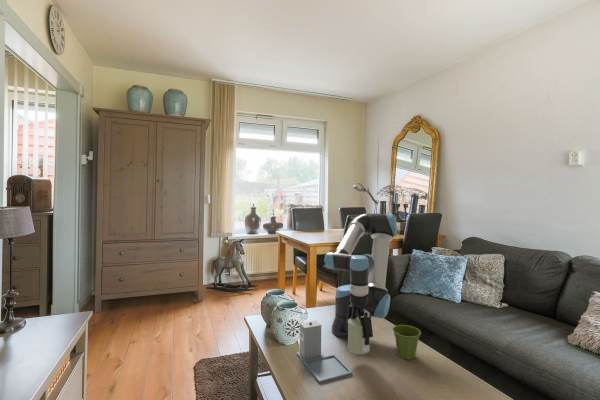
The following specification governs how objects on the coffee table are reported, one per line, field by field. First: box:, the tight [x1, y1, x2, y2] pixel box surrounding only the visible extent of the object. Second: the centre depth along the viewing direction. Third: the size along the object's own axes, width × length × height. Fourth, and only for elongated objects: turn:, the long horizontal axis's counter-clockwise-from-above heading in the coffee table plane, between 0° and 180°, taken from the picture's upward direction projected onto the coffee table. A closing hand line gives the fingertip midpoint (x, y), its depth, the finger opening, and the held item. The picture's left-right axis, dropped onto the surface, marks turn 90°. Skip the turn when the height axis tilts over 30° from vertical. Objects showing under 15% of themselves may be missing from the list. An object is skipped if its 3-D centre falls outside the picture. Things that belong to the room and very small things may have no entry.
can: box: [347, 317, 371, 355], centre depth 132 cm, size 9×9×12 cm
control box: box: [296, 320, 325, 363], centre depth 137 cm, size 10×7×15 cm
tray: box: [303, 353, 354, 384], centre depth 127 cm, size 15×15×1 cm
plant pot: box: [392, 324, 422, 361], centre depth 138 cm, size 12×12×11 cm
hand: (358, 345), depth 132 cm, fingers closed on can, 9 cm apart
